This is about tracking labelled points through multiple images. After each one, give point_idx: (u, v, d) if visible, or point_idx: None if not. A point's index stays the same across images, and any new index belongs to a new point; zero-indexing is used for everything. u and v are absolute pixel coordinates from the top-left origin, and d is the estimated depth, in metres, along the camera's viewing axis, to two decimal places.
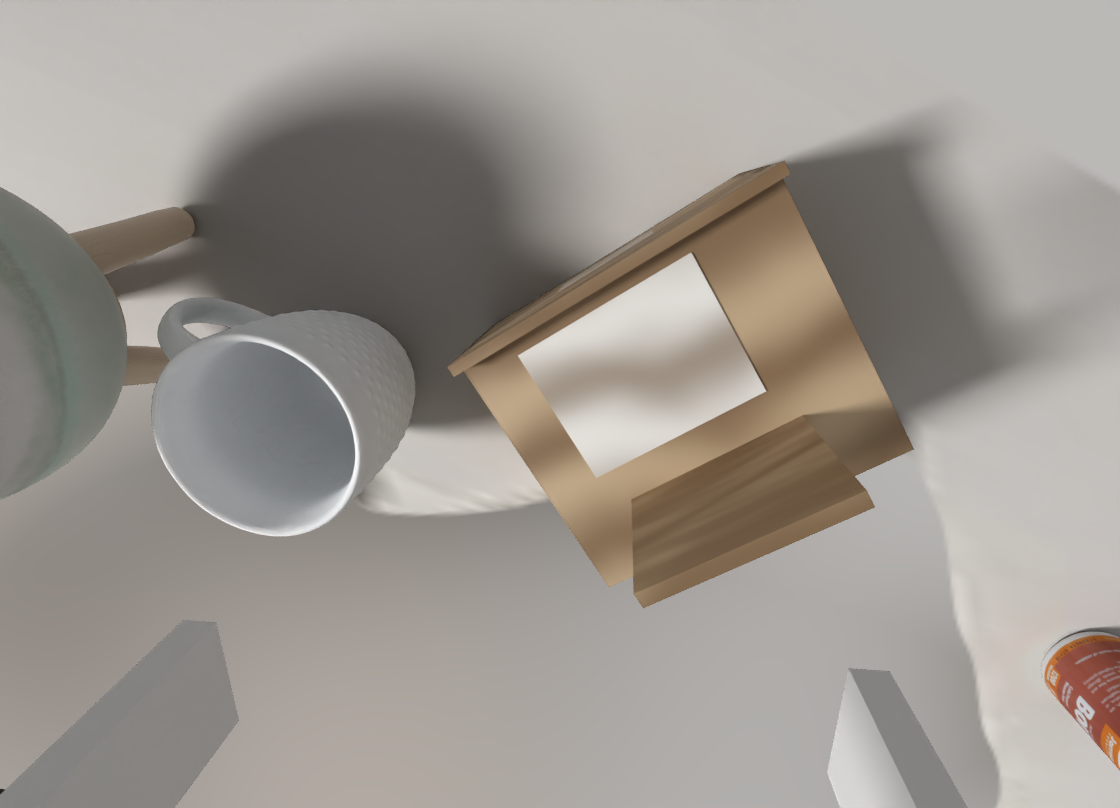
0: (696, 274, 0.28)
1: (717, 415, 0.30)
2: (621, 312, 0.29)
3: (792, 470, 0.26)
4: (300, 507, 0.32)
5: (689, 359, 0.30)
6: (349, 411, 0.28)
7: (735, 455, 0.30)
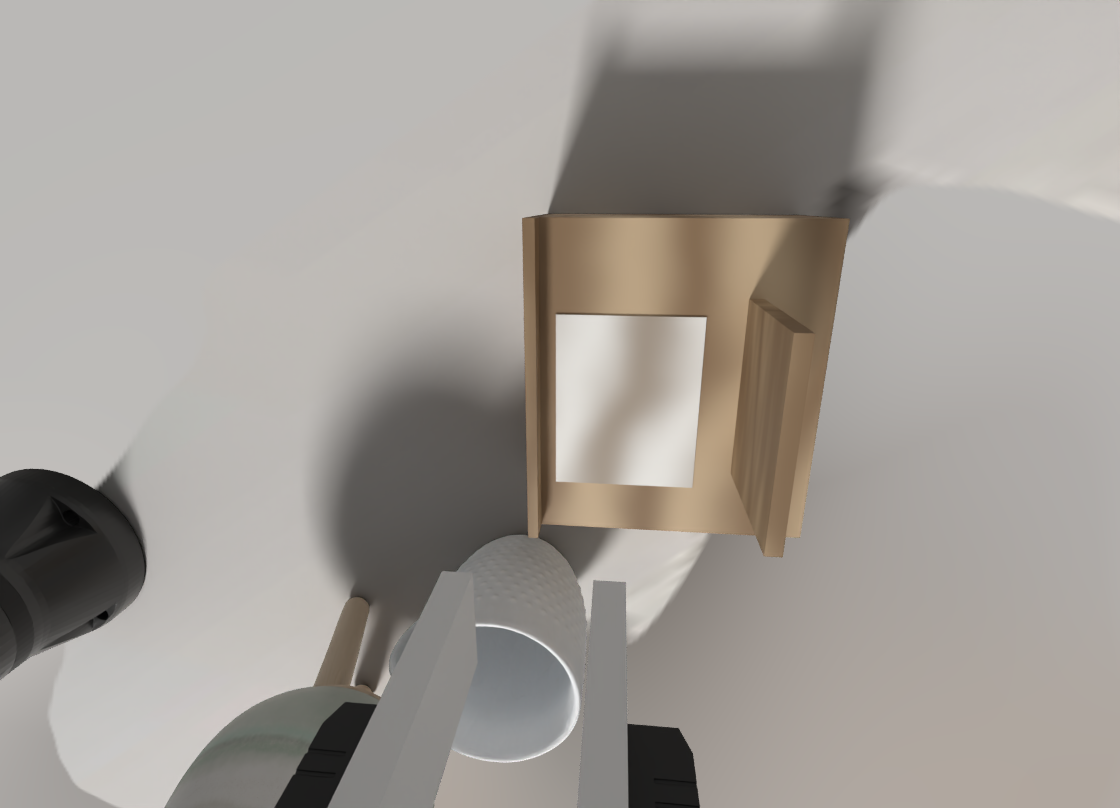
0: (574, 319, 0.32)
1: (702, 366, 0.32)
2: (570, 389, 0.33)
3: (765, 356, 0.27)
4: (564, 701, 0.38)
5: (640, 361, 0.32)
6: (508, 626, 0.34)
7: (744, 374, 0.31)
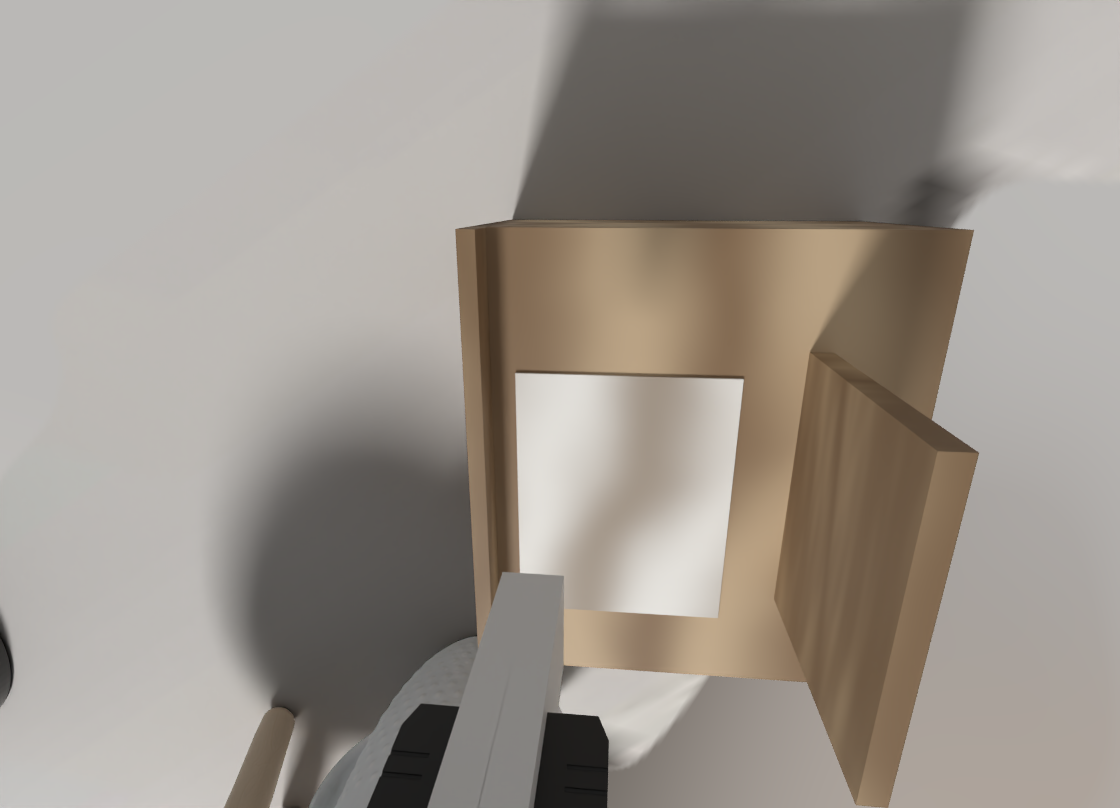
0: (543, 381, 0.21)
1: (735, 450, 0.21)
2: (539, 480, 0.22)
3: (852, 459, 0.16)
4: None
5: (642, 442, 0.21)
6: None
7: (800, 466, 0.20)
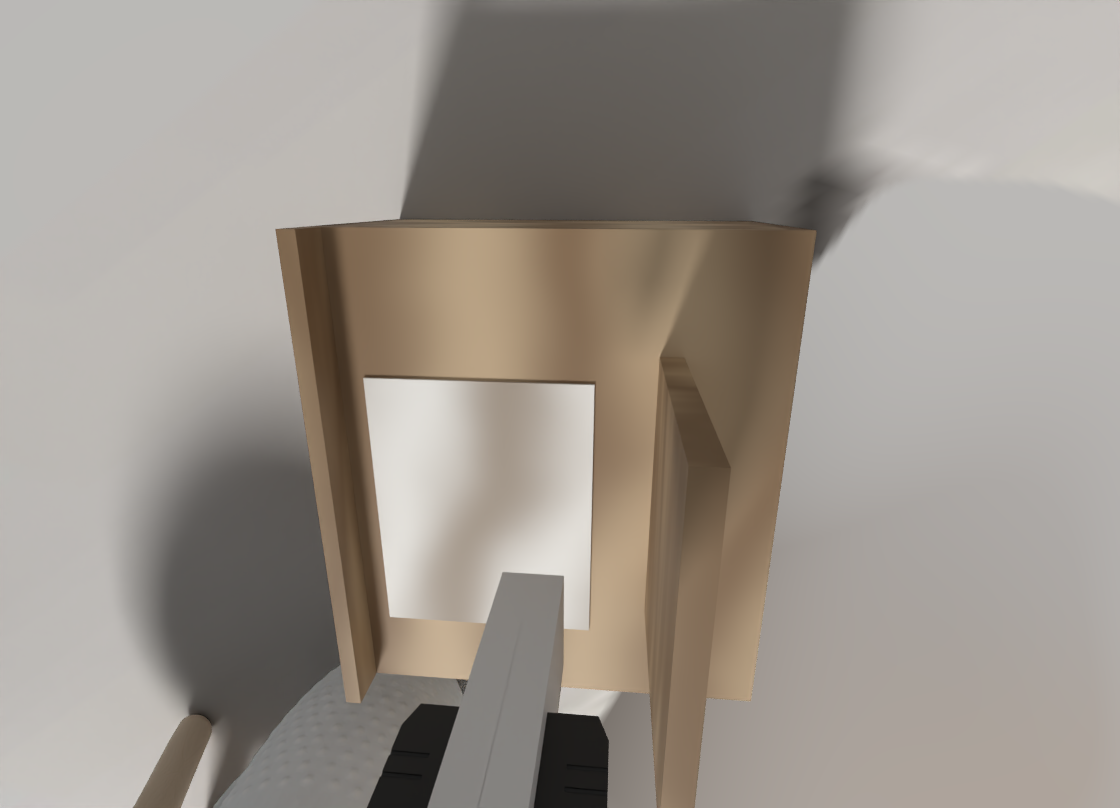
0: (392, 386, 0.20)
1: (592, 458, 0.20)
2: (398, 488, 0.22)
3: (667, 470, 0.15)
4: None
5: (498, 449, 0.21)
6: None
7: (654, 474, 0.20)
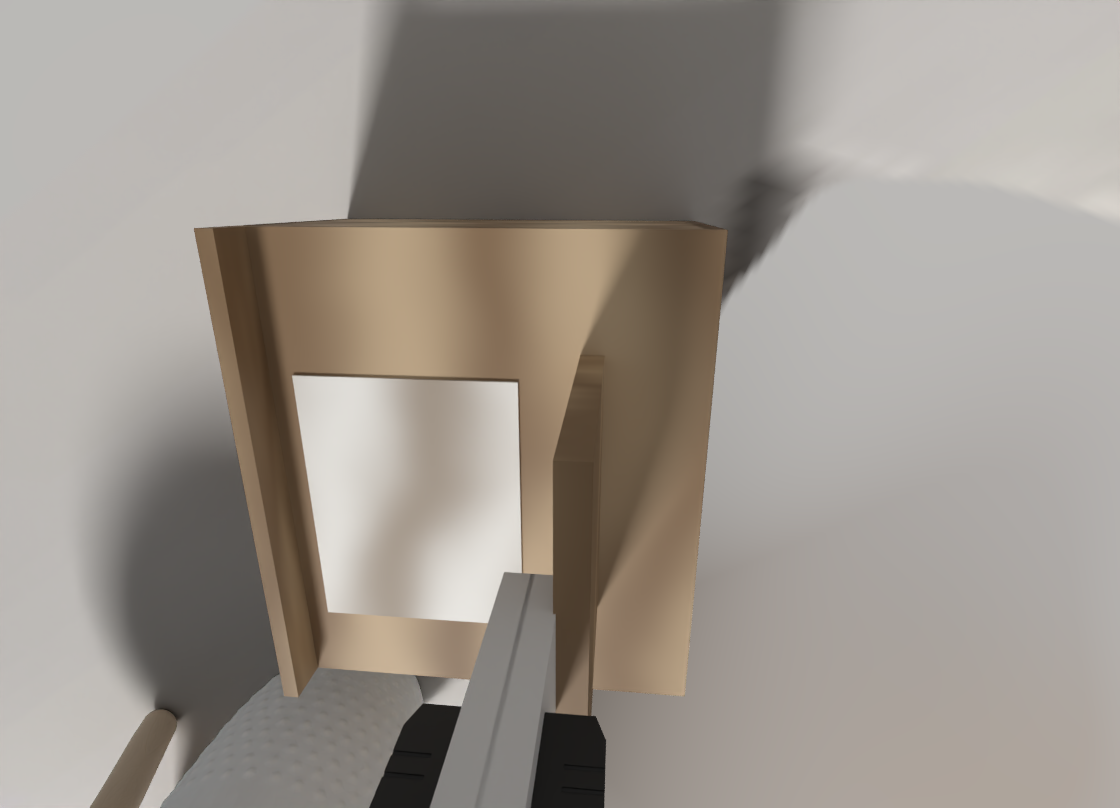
0: (321, 383, 0.21)
1: (519, 454, 0.21)
2: (331, 485, 0.22)
3: None
4: None
5: (427, 446, 0.21)
6: None
7: None
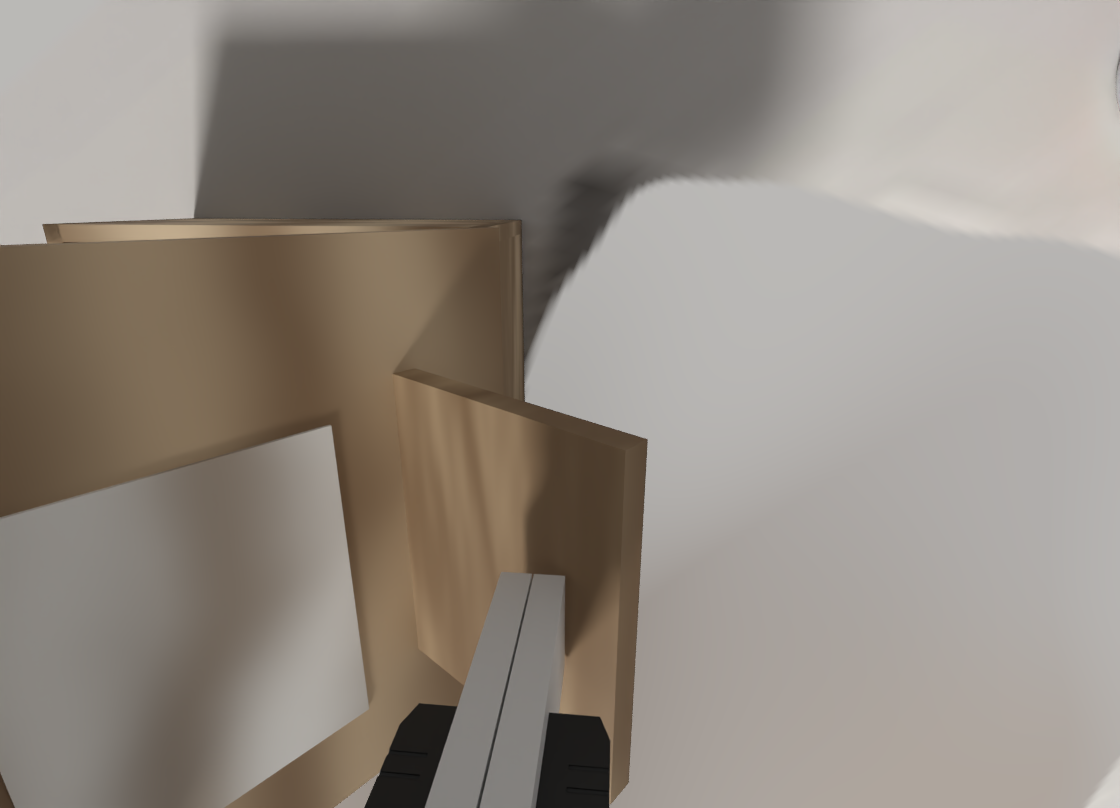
0: None
1: (342, 511, 0.17)
2: (34, 703, 0.12)
3: (502, 478, 0.15)
4: None
5: (215, 555, 0.15)
6: None
7: (418, 499, 0.18)
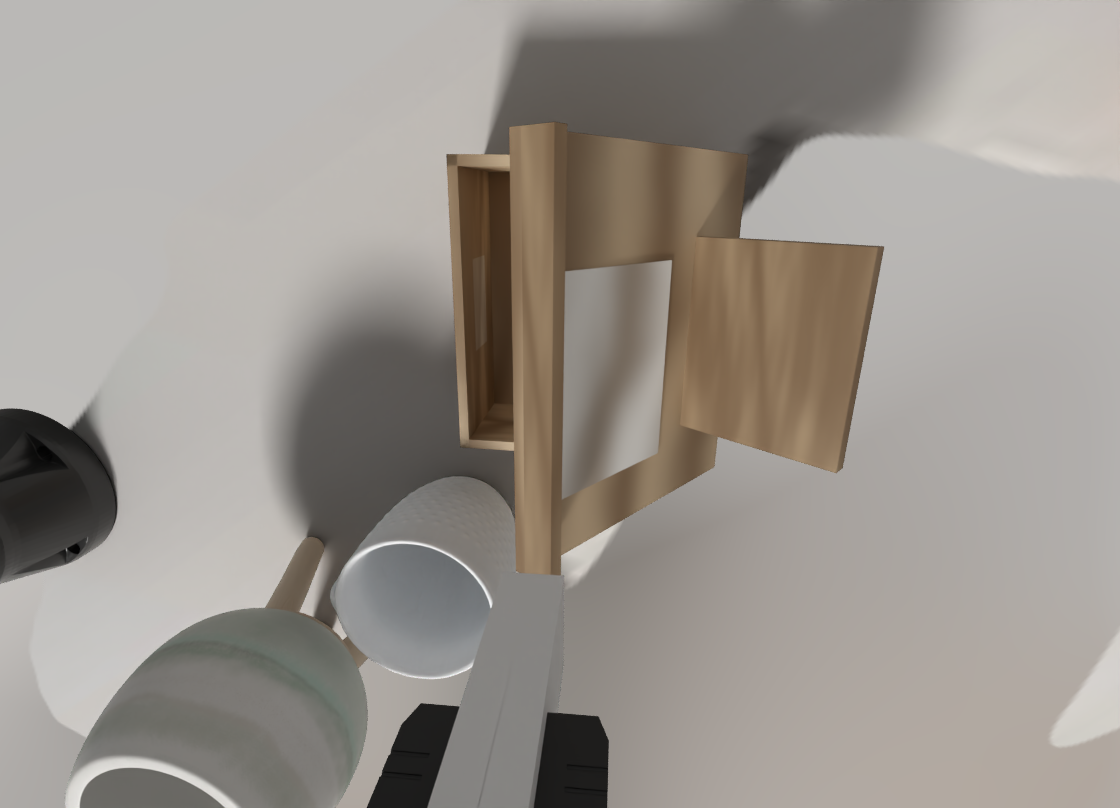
0: (571, 277, 0.23)
1: (666, 316, 0.29)
2: (564, 375, 0.24)
3: (781, 284, 0.27)
4: None
5: (623, 321, 0.26)
6: (427, 544, 0.36)
7: (702, 316, 0.30)
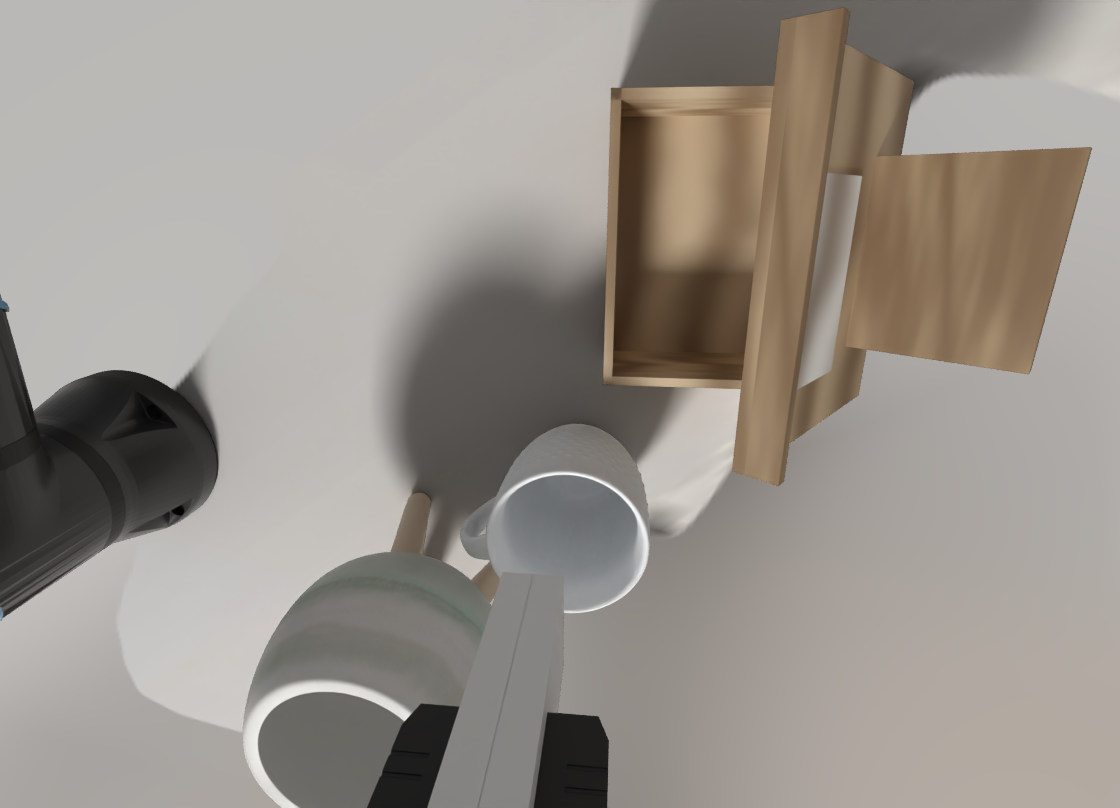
0: None
1: (852, 232, 0.30)
2: None
3: (974, 194, 0.28)
4: (630, 558, 0.41)
5: (827, 231, 0.28)
6: (585, 474, 0.37)
7: (879, 235, 0.31)
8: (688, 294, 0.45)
